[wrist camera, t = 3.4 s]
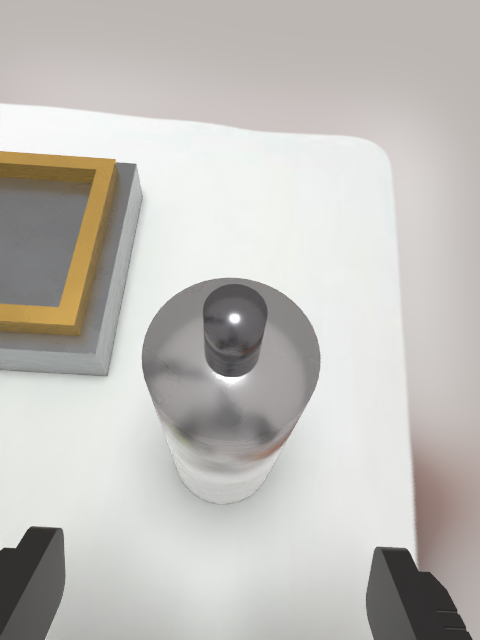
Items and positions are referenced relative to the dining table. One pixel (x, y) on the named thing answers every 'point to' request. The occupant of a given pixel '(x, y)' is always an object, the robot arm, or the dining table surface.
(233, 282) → the spout can
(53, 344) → the grey square tray
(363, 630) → the dining table surface
